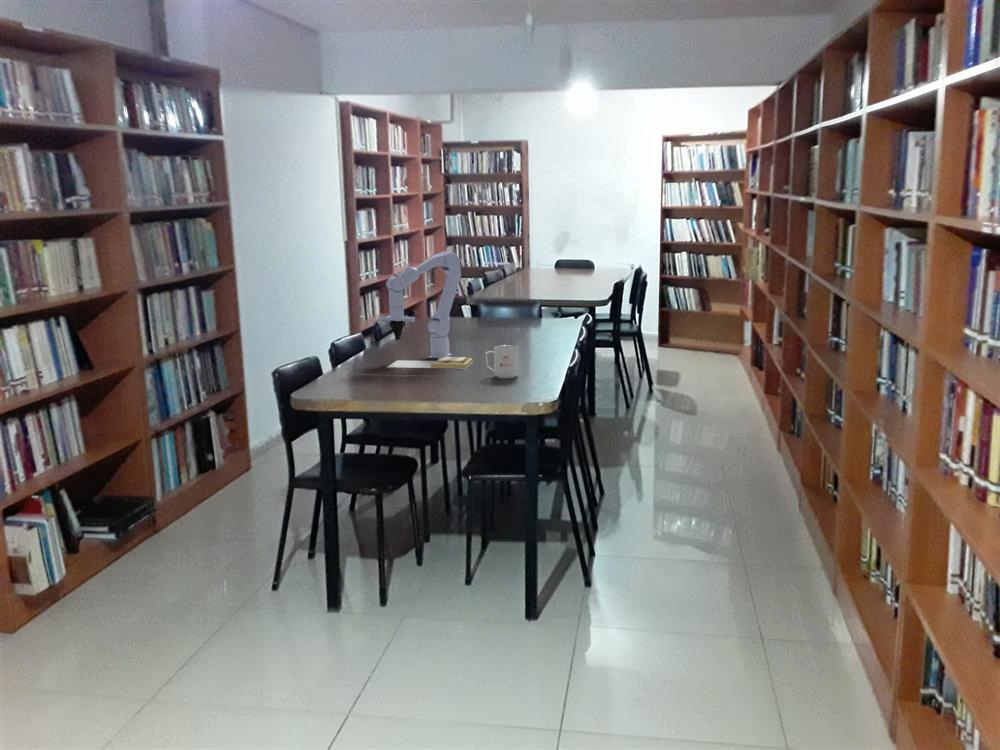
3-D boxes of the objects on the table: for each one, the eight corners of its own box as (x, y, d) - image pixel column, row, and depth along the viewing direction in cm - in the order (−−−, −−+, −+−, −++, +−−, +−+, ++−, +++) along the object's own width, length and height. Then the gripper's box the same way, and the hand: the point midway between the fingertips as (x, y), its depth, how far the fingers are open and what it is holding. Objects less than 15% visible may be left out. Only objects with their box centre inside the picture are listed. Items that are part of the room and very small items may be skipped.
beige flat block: (437, 366, 348) (437, 360, 347) (442, 362, 355) (442, 356, 354) (462, 366, 346) (461, 360, 345) (466, 363, 353) (466, 357, 352)
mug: (517, 373, 333) (516, 344, 331) (519, 378, 324) (518, 348, 322) (485, 374, 332) (484, 345, 330) (486, 379, 324) (485, 349, 321)
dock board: (397, 361, 362) (397, 356, 361) (473, 362, 356) (472, 357, 355) (386, 368, 348) (386, 363, 348) (464, 369, 342) (464, 364, 342)
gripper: (376, 307, 354) (377, 340, 356) (410, 307, 351) (412, 341, 354) (381, 305, 360) (383, 338, 363) (415, 305, 357) (417, 338, 360)
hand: (398, 339), depth 359 cm, fingers closed
